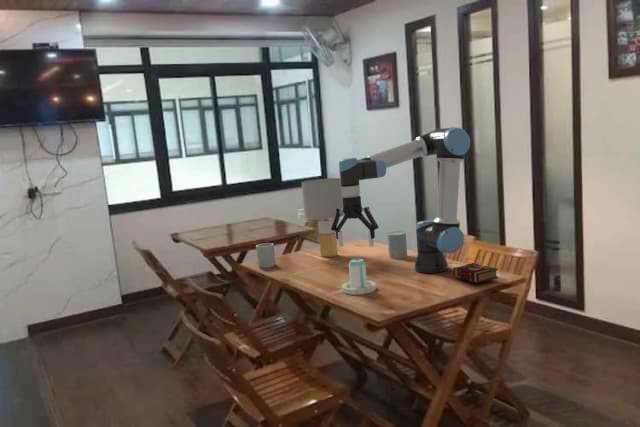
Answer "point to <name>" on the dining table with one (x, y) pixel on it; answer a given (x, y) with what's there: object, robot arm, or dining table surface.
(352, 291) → the saucer
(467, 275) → the decorative book
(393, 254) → the grey concrete cylinder
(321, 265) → the dining table surface
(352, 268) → the can
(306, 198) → the lamp
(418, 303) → the dining table surface
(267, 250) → the cup
